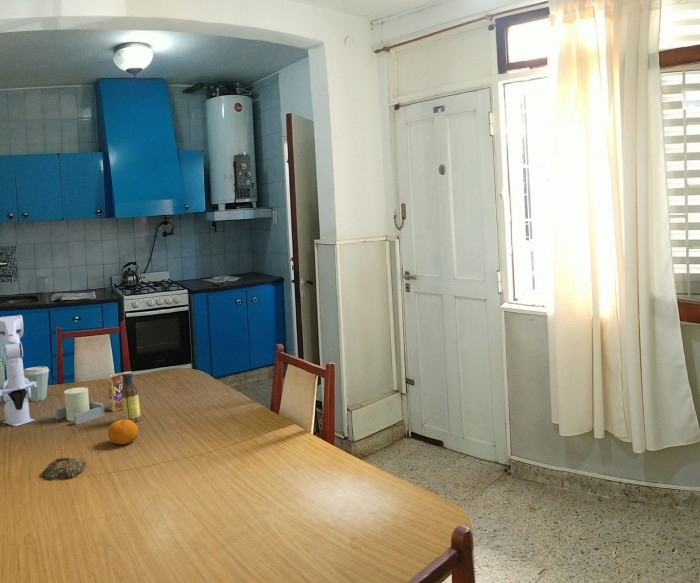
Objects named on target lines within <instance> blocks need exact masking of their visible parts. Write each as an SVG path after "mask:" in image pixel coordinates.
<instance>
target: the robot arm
mask: <svg viewBox="0 0 700 583" xmlns="http://www.w3.org/2000/svg"><path fill="white" fill-rule="evenodd" d="M23 336H24V320H23V315H21V314H19V315H11V316H10V315H9V316H1V317H0V340H1V341H2V342H3V347H2V354H3V360H4V364H5V369H6V378H7V379H6V380H5V381H4V382H2V388H1V389H0V397H1V396H3V402H5V404H4V416H5V418H4V419H5V421H3V423H4V424H6V423H7V425H10V426H13V427H18V426H22V425H24V424H28V423H32V422H34V421H36V420H35V419H34V418H32V417H31V416H30V415H31V414H30V407H29V399H30V397H31V389H30V388H31V387H36V386H37V384H36V382H35V381H32V382H29V380H28V379H27V378H25V377H24V363H23V358H24V349H23V345H22V344H23V343H22V342H21V338H22V337H23Z"/></svg>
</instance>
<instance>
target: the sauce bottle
mask: <svg viewBox="0 0 700 583" xmlns="http://www.w3.org/2000/svg"><path fill="white" fill-rule="evenodd" d="M121 373H122V372H121ZM133 376H134V374H133V371H124V372H123V373H122V377H123V387H122V390H121V393H122V403H123V409H122V410H123V411H122V412H123V417H124V420H125V419H127V420H131V421H133V422H134V423H137V422H138V421H140V420H141V408H140V400H139V393H138V390H137V388H136V385H135V383H134V378H133Z"/></svg>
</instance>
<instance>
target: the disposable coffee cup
mask: <svg viewBox="0 0 700 583" xmlns="http://www.w3.org/2000/svg"><path fill="white" fill-rule="evenodd" d="M23 371H24V377H25V378H27V379H28V380H29V382H32V381H35V382H36V384H37V386H36V387H31V388H30V389H31V397H30V398H29V400H30V402H39V400H41V401H44V400H45V398H47V395H48V394H47V392H48V381H49V372H50V369H49V367H48V366H33V367H27V368H24V369H23Z"/></svg>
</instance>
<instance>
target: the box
mask: <svg viewBox="0 0 700 583" xmlns="http://www.w3.org/2000/svg"><path fill="white" fill-rule="evenodd" d="M89 407H90V410H87V411H84V412H81V413H78V414H75V415H74V421H73V422H74V425H75V426H77V425H80V424H84V423H86V422H89V421H93V420H97V419H99V418H102V417H104V416H105V407H104V403H102V402H97V401H92V400H89ZM54 411H55V412H54V413H55V420H61V419H64V418H67V415H66V406H63V407H60V408H57V409H55V410H54Z"/></svg>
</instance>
